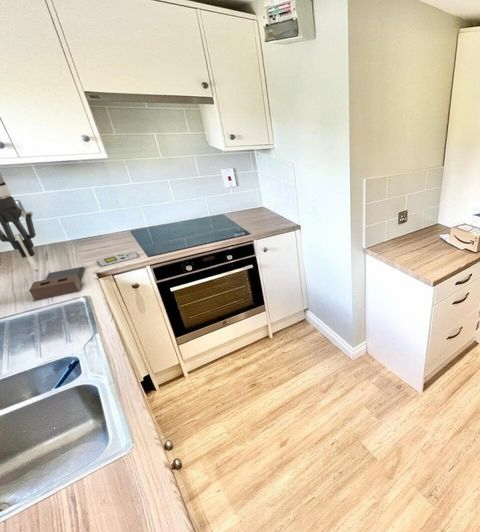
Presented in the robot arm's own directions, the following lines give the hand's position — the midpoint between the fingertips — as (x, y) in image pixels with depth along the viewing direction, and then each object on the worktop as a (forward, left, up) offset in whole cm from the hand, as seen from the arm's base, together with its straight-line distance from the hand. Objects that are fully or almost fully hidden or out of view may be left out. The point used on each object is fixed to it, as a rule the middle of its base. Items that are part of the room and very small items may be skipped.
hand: (28, 255), depth 128 cm
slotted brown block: (+3, 0, -18) cm, 18 cm away
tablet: (+3, +14, -18) cm, 23 cm away
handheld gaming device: (+22, +26, -18) cm, 38 cm away
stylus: (0, 0, -7) cm, 7 cm away
